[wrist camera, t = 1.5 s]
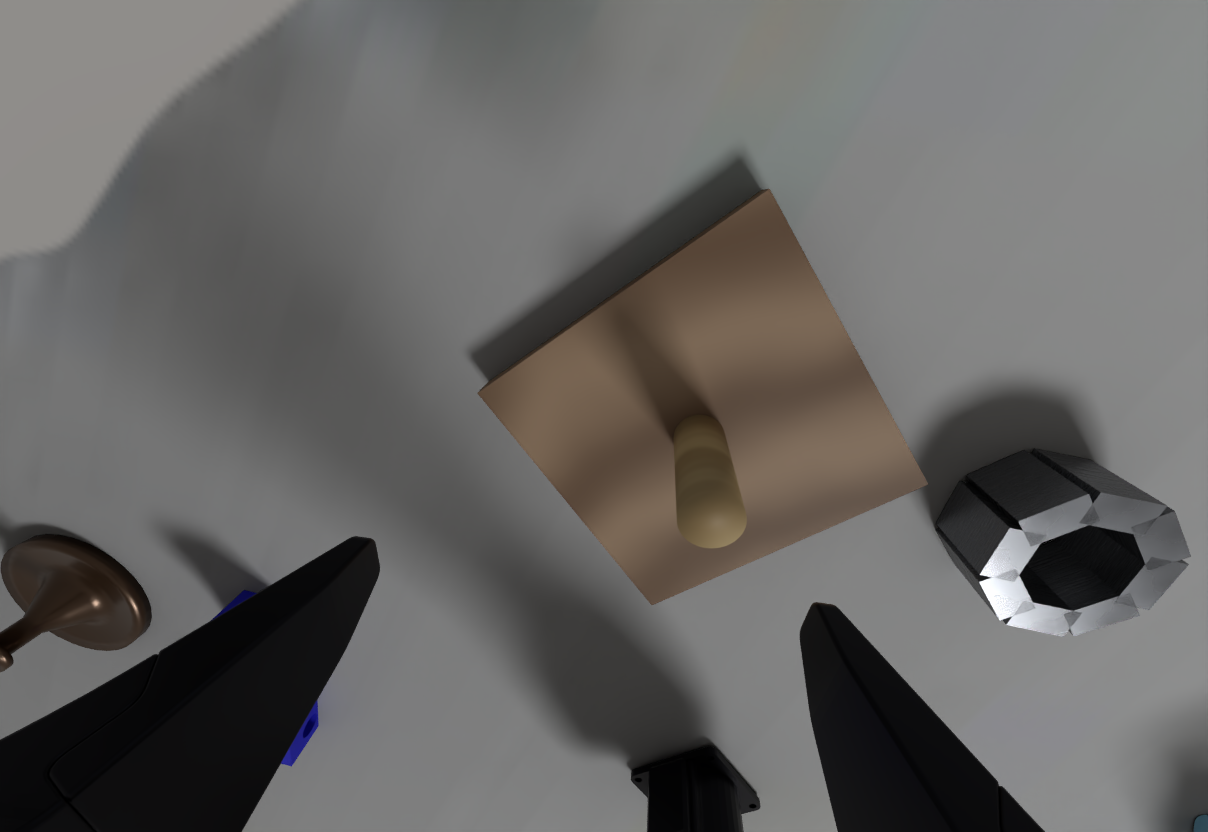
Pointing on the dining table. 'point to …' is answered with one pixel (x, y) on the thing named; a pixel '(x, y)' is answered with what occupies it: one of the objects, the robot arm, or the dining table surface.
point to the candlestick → (71, 596)
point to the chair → (1201, 824)
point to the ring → (1061, 542)
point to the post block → (708, 409)
